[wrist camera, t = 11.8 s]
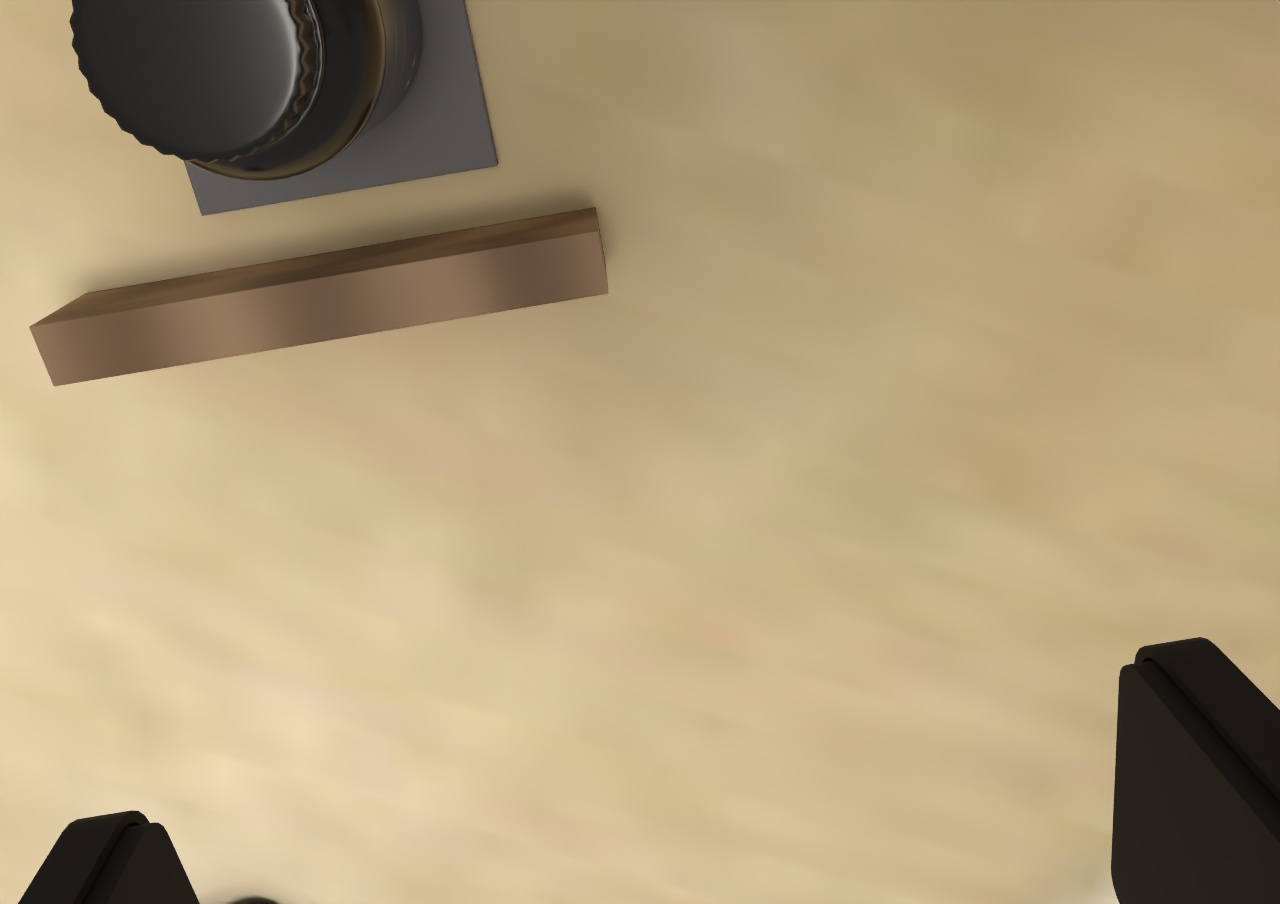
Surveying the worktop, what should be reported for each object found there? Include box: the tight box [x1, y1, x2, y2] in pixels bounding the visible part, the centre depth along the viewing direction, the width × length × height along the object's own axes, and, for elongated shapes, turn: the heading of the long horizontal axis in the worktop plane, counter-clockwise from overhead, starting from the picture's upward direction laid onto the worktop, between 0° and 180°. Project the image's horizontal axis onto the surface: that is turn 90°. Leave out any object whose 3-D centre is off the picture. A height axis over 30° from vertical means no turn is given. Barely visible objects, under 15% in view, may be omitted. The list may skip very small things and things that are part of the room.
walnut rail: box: [29, 207, 608, 386], centre depth 34 cm, size 18×2×4 cm, turn 99°
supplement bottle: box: [70, 0, 422, 181], centre depth 27 cm, size 7×7×12 cm
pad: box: [184, 0, 498, 216], centre depth 32 cm, size 10×10×1 cm
